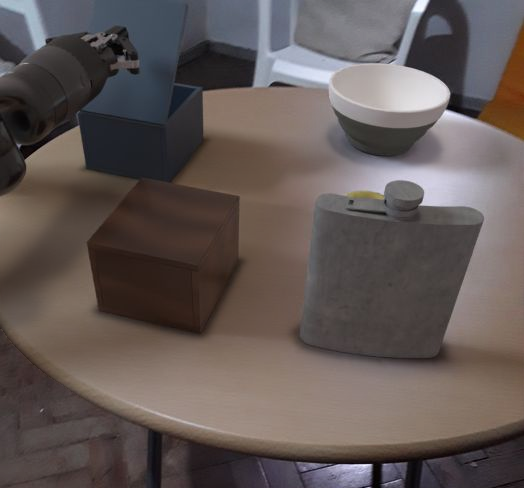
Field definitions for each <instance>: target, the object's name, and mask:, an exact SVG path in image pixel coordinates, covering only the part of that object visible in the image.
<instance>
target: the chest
mask: <svg viewBox="0 0 524 488" xmlns="http://www.w3.org/2000/svg"><path fill="white" fill-rule="evenodd" d="M203 91H204V87H203V86H197V85H196V86H195V85H189V84H183V83H177V82H174V87H173V92H172V97H171V103H170V108H169V113H168V119H167V124H166V126H162V125H157V124H151V123H145V122H139V121H133V120H128V119H122V118H116V117H110V116H105V115H99V114H93V113H87V112H82V111H79V112H78V113H76V115H77V120H78V125H79V131H80V137H81V138H80V139H81V145H82V150H83V157H84V162H85V163H84V164H85V169H86V170H90V171H96V172H101V173H107V174H112V175H116V176H122V177H126V178H127V177H128V178H132V179H137V180H140V179H141V178H148V179H153V180H158V181H164V182H169V183H172V181H173V180H174V179H175V177H176V176H177V175H178V173H179V172H181V170H182V169H183V167H184V166H185V165H186V163H187V162H188V161H189V160H190V158H191V157H192V156H193V154H194V153H195V152H196V151H197V149H198V148H199V147H200V145H201V144H202V143H203V141H204V96H203V95H204V93H203Z"/></svg>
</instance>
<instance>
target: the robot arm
mask: <svg viewBox="0 0 524 488" xmlns="http://www.w3.org/2000/svg"><path fill="white" fill-rule="evenodd" d="M44 41H45V44H44V45H42V46H41V47H39V48H38V49H36V50H34V51H33V52H32V53H30V54H29V55H27V56H26V57H24V58H23V59H22V60H21V62H19V63H18V64H17V65H16V66H14V67H13V68H11V69H10V70H8V71H7V72H6V73H3V74H2V75H0V197H3V196H6V195H8V194H10V193H11V192H13V191H14V190H16V189H17V188H18V187H20V185H21V183H22V182H23V181H24V179H25V177H26V174H27V163H26V160H25V158H24V155H23V154H22V152H21V151H20V150H21V149H20V148H19V146H30V145H34V144H36V143H38V142H40V141H42V140H43V139H44V138H45V137H47V136H48V135H49V134H50V133H51V132H52V131H54V130H55V129H56V128H57V127H59V126H60V125H61V124H62V123H64V122H67V121H68V120H69V119H72V118H73V117H74V116H75V115H77V113H78V112H80V110H81V109H82V108H84V107H85V106H86V105H87V104H88V103H90V102H91V101H92V100H93V99H94V98H95V97H97V96H98V95H99V94H100V93H101V91H102V89H103V87H104V85H105V82H106V80H107V78H109V77H112V76H115V75H116V74H117V73H118V72H119V69H125V71H129V72H130V73H131V74H134V75H136V74H139V73H140V69H139V57H138V51H137V50H136V49H135V47H134V46H133V45H132V43H131V42H130V40H129V33H128V31H127V29H126V27H122V26H114V27H112V28H111V29H109V30H107V31H106V32H104V33H103V32H99V33H96V34H95V35H91V33H89V31H83V32H77V33H71V34H63V35H59V36H53V37H48V38H45V40H44ZM119 56H120V58H119V59H117V58H118V57H119ZM18 145H19V146H18Z"/></svg>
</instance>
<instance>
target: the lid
mask: <svg viewBox="0 0 524 488" xmlns="http://www.w3.org/2000/svg"><path fill="white" fill-rule="evenodd" d="M188 11H189V5H188V3H185V2H178V1H171V0H93V4H92V9H91V15H90V20H89V27H88V32H89V33H91V35H95V34H96V33H99V32H103V33H104V32H106V31H107V30H109V29H111V28H112V27H114V26H122V27H126V29H127V31H128V33H129V40H130V42H131V43H132V45H133V46H134V47H135V49H136V50H137V51H138V57H139V69H140V73H139V74H136V75H134V74H131V73H130V72H129V71H125V69H119V72H118V73H117V74H116V75H115V76H112V77H109V78H107V80H106V82H105V85H104V87H103V89H102V91H101V93H100V94H99V95H98V96H97V97H95V98H94V99H93V100H92V101H91V102H90V103H88V104H87V105H86V106H85V107H84V108H82V109H81V110H80V111H82V112H87V113H93V114H99V115H105V116H110V117H116V118H122V119H128V120H133V121H139V122H145V123H151V124H157V125H162V126H166V124H167V119H168V113H169V108H170V103H171V97H172V92H173V87H174V83H175V81H176V76H177V71H178V65H179V59H180V55H181V49H182V44H183V38H184V32H185V27H186V21H187V18H188V17H187V16H188ZM119 58H120V56H119V57H118V58H117V59H119ZM80 111H79V112H80Z"/></svg>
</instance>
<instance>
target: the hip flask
mask: <svg viewBox="0 0 524 488" xmlns="http://www.w3.org/2000/svg"><path fill="white" fill-rule="evenodd" d="M383 195H384V198H385V199H384V200H382V199H371V198H359V197H348V196H344V195H343V194H337V193H330V192H328V193H322V194H320V195H318V196H317V197H316V198H315V202H314V208H313V209H314V210H313V217H312V225H311V233H310V241H309V249H308V250H309V251H308V258H307V268H306V269H307V270H306V276H305V283H304V285H305V286H304V292H303V300H302V301H303V302H302V310H301V319H300V324H299V325H300V326H299V327H300V328H299V333H298V335H299V336H298V337H299V339H300V340H301V341H302V342H303V343H304V344H306V345H309V346H313V347H317V348H321V349H325V350H329V351H335V352H340V353H341V352H342V353H345V354H346V353H347V354H352V355H360V356H368V357H377V358H378V357H379V358H389V359H390V358H391V359H392V358H395V359H431V358H435V357H437V356H438V355H439V353H440V350H441V347H442V344H443V342H444V338H445V335H446V332H447V329H448V327H449V323H450V320H451V318H452V315H453V312H454V309H455V306H456V303H457V300H458V297H459V294H460V291H461V288H462V285H463V282H464V280H465V277H466V274H467V270H468V267H469V265H470V262H471V260H472V256H473V253H474V250H475V248H476V244H477V241H478V239H479V235H480V232H481V230H482V228H483V227H482V226H483V224H484V222H485V216H484V214H483V213H482V212H481V211H479V210H478V209H476V208H474V207H471V206H461V205H458V206H457V205H456V206H454V205H452V206H446V205H443V206H442V205H441V206H440V205H421V204H423V202H424V201H423V200H424V196H425V189H424V188H423V187H422V186H421V185H419V184H417V183H415V182H413V181H408V180H404V179H398V180H391V181H389V182H388V183H386V184H385V186H384V190H383Z"/></svg>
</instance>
